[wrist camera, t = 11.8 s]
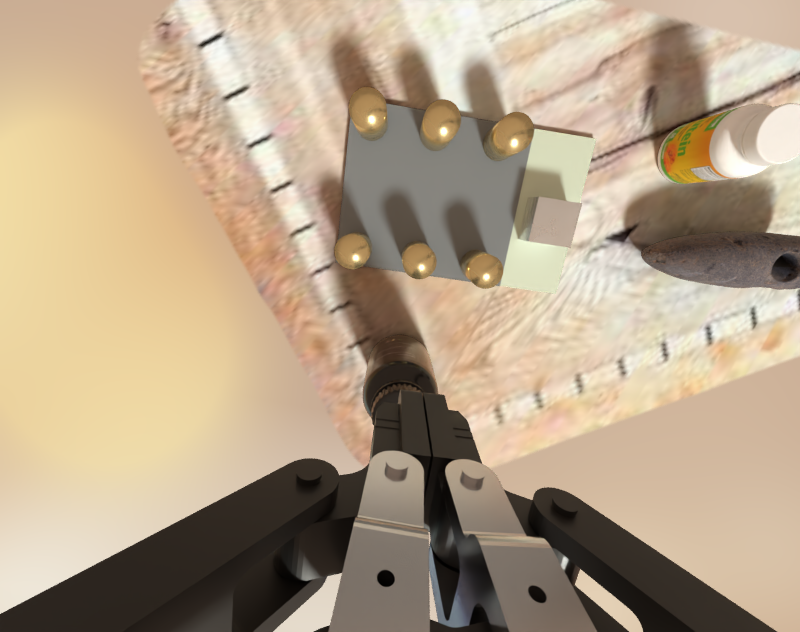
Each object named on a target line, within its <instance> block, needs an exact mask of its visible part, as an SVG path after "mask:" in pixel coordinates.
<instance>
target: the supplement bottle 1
mask: <svg viewBox="0 0 800 632" xmlns="http://www.w3.org/2000/svg"><path fill="white" fill-rule="evenodd" d="M400 390H409V391H416V392H422V393H423V392H425V393H432V394H438V388H437V383H436V379H435V375H434V372H433V368H432V364H431V360H430V357H429V354H428V352H427V350H426V348H425V347H424V346H423V345H422V344H421V343H420V342H419V341H418V340H416V339H415V338H413V337H410V336H406V335H393V336H389V337H387V338H385V339H383V340H381V341H380V342H379V343H378V344H377V345H376V346H375V347H374V348H373V350H372V352H371V354H370V357H369V361H368V366H367V371H366V376H365V382H364V387H363V403H364V406H365V409H366V411H367V413H368V414H369V416H370V417H371V418H372V421H373V425H375V418H376V411H377V408H378V407H379V406H380V405H381V404H382V403H383V402H389V403H397V404H398V399H399V393H400Z"/></svg>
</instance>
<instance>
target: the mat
mask: <svg viewBox="0 0 800 632" xmlns="http://www.w3.org/2000/svg"><path fill="white" fill-rule="evenodd" d="M386 106H387V117H388V128H387V131H386V133H385V134H384V136H383V137H382V138H380V139H378V140H376V141H369V140H366V139H364V138H362V137H361V136H360V135H359V133H358V131H357V129H356V127H355V125H354V123H353V121H352V119H351V116H350V125H349V135H348V145H347V155H346V165H345V175H344V185H343V195H342V204H341V214H340V224H339V234H338V240H339V239H340V238H342V237H343V236H345V235H348V234H350V233H353V232H361V233H363V234H365V235H367V236H368V237H369V239H370V240H371V242H372V253H371V255H370V257H369V258H368V260H367V261H366V263H365V264H364V265H363V266H365V267H372V268H378V269H385V270H392V271H399V272H405V270H404V268H403V263H402V251H403V249H404V247H405V246H406V245H407V244H408V243H410V242H413V241H421V242H423V243H425V244H426V245H427V246H428V247H430V248H431V249H432V251H433V252H434V253H435V255H436V259H437V264H436V268H435V270H434V272H433V273H432V274H431V275H430V276H434V277H441V278H448V279H455V280H461V281H468V282H471V281H470V280H469V279H468V278H467V277H466V276H465V275H464V274H463V273H462V271H461V268H460V262H461V259H462V257H463V256H464V255H465V254H466V253H467V252H469V251H471V250H481V251H483V252H485V253H488V254H490V255H492V256H495V257H496V258H498V259H499V260H500V261H501V263H502V265H503V276H502V279H501V280H500V282H499V283H498V284H497V285H496V286H504V287H511V288H518V289H525V290H532V291H539V292H546V293H552V294H556V292H557V288H558V284H559V280H560V277H561V273H562V269H563V265H564V261H565V257H566V254H567V250H568V247H561V246H555V245H549V244H542V243H536V242H529V241H524V240H519V239H518V238H519V233H520V229H521V225H522V220H523V216H524V212H525V207H526V203H527V198H531V197H545V198H552V199H558V200H564V201H570V202H577V203H580V200H581V196H582V192H583V188H584V185H585V181H586V177H587V173H588V169H589V166H590V162H591V158H592V154H593V150H594V146H595V143H596V139H594V138H588V137H582V136H576V135H570V134H564V133H558V132H552V131H546V130H540V129H535V128H534V136H533V139H532V141H531V143H530V144H529V146H528V147H527V148H526V149H524V150H522V151H520V152H519V153H517V154H515V155H513V156H511V157H509V158H507V159H505V160H502V161H493V160H491V159H490V158H488V157H487V156H486V154H485V152H484V149H483V140H484V137H485V135H486V134H487V133H488V131H489V130H491V129H492V128H493V127H494V126H495V125H496V124H497V123H498V122H494V121H488V120H482V119H476V118H470V117H464V116H461V124H460V128H459V130H458V132H457V133H456V135H455V136H454V137H453V139H452V140H451V141H450V143H449V144H448V145H447V146H446V147H445V148H444V149H442V150H440V151H431V150H429V149H427V148H426V147H425V146H424V145H423V144H422V142H421V139H420V128H421V125H422V121H423V118H424V114H425V112H426V110H421V109H415V108H409V107H403V106H397V105H391V104H386ZM336 262H337V263H338V261H337V260H336Z"/></svg>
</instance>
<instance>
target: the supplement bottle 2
mask: <svg viewBox="0 0 800 632" xmlns="http://www.w3.org/2000/svg"><path fill="white" fill-rule="evenodd" d="M799 154H800V104H794V103H789V104H784V105H779V106H775V107H772V106H769V105H765V104H751V105H746V106H742V107H739V108H736V109H733V110H730V111H726V112H723V113H720V114H717V115H714V116H710V117H707V118H704V119H701V120H697V121H694V122H691V123H688V124H685V125H682V126H680V127H678V128H676V129H675V130H673V131H672V132H671V133H670V134H669V135H668V136H667V137H666V138H665V139H664V141H663V143H662V144H661V147H660V149H659V153H658V166H659V170H660V172H661V174H662V175H663V176H664V177H665V178H666V179H667V180H669V181H671V182H673V183H678V184H688V183H698V182H707V181H716V180H725V179H735V178H743V177H748V176H752V175H754V174H757V173H759V172H761V171H762V170H764V169H766V168H767V167H768V166H770V165H775V164H781V163H785V162H788V161H790V160H792V159H794V158H795V157H797V156H798V155H799Z"/></svg>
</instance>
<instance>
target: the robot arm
mask: <svg viewBox="0 0 800 632" xmlns="http://www.w3.org/2000/svg"><path fill="white" fill-rule="evenodd" d="M428 532H430V537H431V542H430V546H429V534H428ZM580 569H581V570H583V571H584V572H585V573H586V574H587V575H589V576H590V577H591V578H592V579H594V580H595V581H596V582H597V583H599V584H600V585H601V586H603V588H605V589H606V590H607V591H608V592H610V593H611V594H612V595H613V596H615V597H616V598H617V599H618V600H619V601H621V602H622V603H623V604H624V605H626V606H627V607H628V608H629V609H630V610H631V611H632V612H633V613H634V614H635V615H636V616H637V618H638V619H639V621H640V623H641V625H642V628H643V632H777V631H775V630H774V629H772V628H771V627H769V626H768V625H766V624H765V623H763V622H762V621H760V620H759V619H757V618H756V617H754V616H753V615H751V614H750V613H748V612H747V611H745V610H744V609H742V608H741V607H739V606H738V605H736V604H735V603H733V602H732V601H731V600H729V599H727V598H726V597H725V596H723V595H721V594H720V593H718V592H717V591H716V590H714V589H713V588H711V587H710V586H708V585H707V584H705V583H704V582H702V581H701V580H699V579H698V578H696V577H695V576H693V575H692V574H690V573H689V572H687V571H686V570H684V569H683V568H681V567H680V566H678V565H677V564H675V563H674V562H672V561H671V560H669V559H668V558H666V557H665V556H663V555H662V554H660V553H659V552H657V551H656V550H655V549H653V548H652V547H650V546H649V545H647V544H646V543H644V542H643V541H641V540H640V539H638V538H637V537H635V536H634V535H632V534H631V533H629V532H628V531H626V530H625V529H623V528H622V527H620V526H619V525H617V524H616V523H614V522H613V521H611V520H610V519H608V518H607V517H605V516H604V515H602V514H601V513H599V512H598V511H596V510H595V509H593V508H592V507H590V506H589V505H587V504H586V503H584V502H583V501H582V500H580V499H579V498H577V497H575V496H574V495H572V494H570V493H568V492H566V491H563V490H560V489H556V488H549V487H548V488H541V489H539V490H537V491H536V492H535V494H534V497H533V500H530V499H527V498H524V497H521V496H518V495H516V494H513V493H510V492H508V491H506V490H504V489H503V487H502V485H501V483H500V481H499V479H498V477H497V476H496V474H495V473H494V472H493V471H492V470H491V469H489V468H488V467H487V466H485V465H483V464H482V462H481V459H480V456H479V453H478V451H477V448H476V445H475V442H474V440H473V436H472V433H471V432H470V427H469V424H468V422H467V420H466V419H465V418H464V417H463V416H462V415H461V414H460V413H459V412H458V411H452V410H448V407H447V403H446V400H445V396H444V395H440V394H432V393H425V392H423V393H422V392H416V391H409V390H400V393H399V399H398V404H397V403H389V402H383V403H382V404H381V405H380V406H379V407H378V408H377V411H376V418H375V425H374V432H373V438H372V445H371V454H370V463H369V464H368V465H367V466H366V467H365V468H364V469H362V470H360V471H358V472H355V473H352V474H346V475H339V474H338V472H337V470H336V469H335V467H334V466H332V465H331V464H330V463H328V462H326V461H323V460H319V459H301V460H297V461H294V462H292V463H290V464H288V465H286V466H284V467H282V468H280V469H278V470H276V471H274V472H272V473H270V474H269V475H267V476H265V477H263V478H261V479H259V480H257V481H255V482H253V483H251V484H249V485H247V486H245V487H244V488H242V489H240V490H238V491H236V492H234V493H232V494H230V495H228V496H226V497H224V498H222V499H220V500H219V501H217V502H215V503H213V504H211V505H209V506H207V507H205V508H203V509H201V510H199V511H197V512H195V513H193V514H192V515H190V516H188V517H186V518H184V519H182V520H180V521H178V522H176V523H174V524H172V525H171V526H169V527H167V528H165V529H163V530H161V531H159V532H157V533H155V534H153V535H151V536H150V537H147V538H145V539H144V540H142V541H140V542H138V543H136V544H134V545H132V546H130V547H128V548H126V549H124V550H122V551H120V552H119V553H117V554H115V555H113V556H111V557H109V558H107V559H105V560H103V561H101V562H99V563H97V564H96V565H94V566H92V567H90V568H88V569H86V570H84V571H82V572H80V573H78V574H77V575H74V576H72V577H71V578H69V579H67V580H65V581H63V582H61V583H59V584H57V585H55V586H53V587H51V588H50V589H48V590H46V591H44V592H42V593H40V594H38V595H36V596H34V597H32V598H30V599H28V600H26V601H24V602H23V603H21V604H19V605H17V606H15V607H13V608H11V609H9V610H7V611H5V612H3V613H1V614H0V632H273V631H274V630H275V629H276V628H277V627H278V626H279V625H280V624H281V623H283V622H284V621H285V620H286V619H287V618H288V617H289V616H290V615H291V614H293V613H294V612H295V611H296V610H297V609H298V608H299V607H300V606H301V605H302V604H304V603H305V602H306V601H307V600H308V599H309V598H310V597H311V596H312V595H314V593H316V592H317V591H318V590H319V589H320V588H321V587H322V585H323V584H324V582H325V580H326V578H327V576H330V575H334V574H339V573H342V576H341V581H340V585H339V589H338V593H337V597H336V602H335V606H334V610H333V615H332V619H331V623H330V625H329V626H326V627H323V628H320V629H318V630H316V631H314V632H629V631H627V630H626V629H625V628H624V627H623V626H622V625H621V624H619V623H618V622H617V621H616V620H615V619H614V618H612V617H611V616H610V615H609V614H608V613H606V612H605V611H604V610H603V609H602V608H601V607H600V606H598V605H597V604H596V603H595V602H594V601H593V600H591V599H590V598H589V597H588V596H587V595H586V594H584V593H583V592H582V591H581V590H579V589H578V588H577V587H576V586H575V582H576V579H577V576H578V573H579V571H580ZM429 571H430V577H431V582H432V589H433V594H434V600H435V606H436V612H437V618H438V622H436V621H433V620H430V609H429V607H430V605H429Z"/></svg>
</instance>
